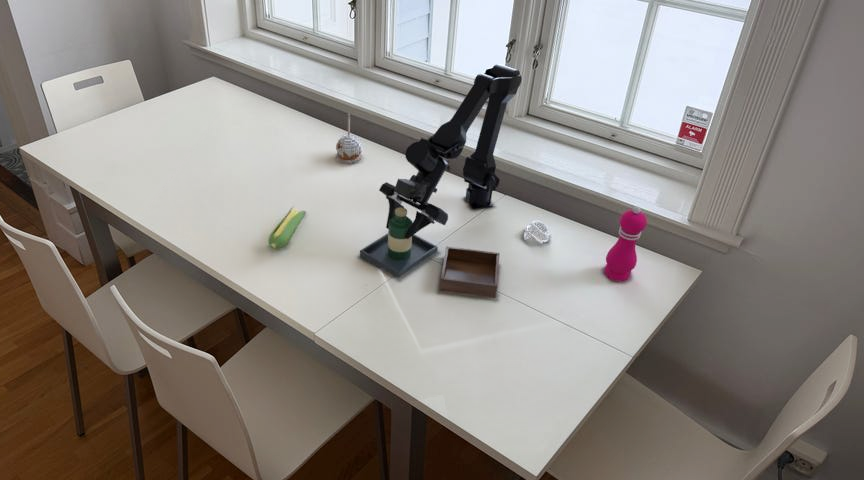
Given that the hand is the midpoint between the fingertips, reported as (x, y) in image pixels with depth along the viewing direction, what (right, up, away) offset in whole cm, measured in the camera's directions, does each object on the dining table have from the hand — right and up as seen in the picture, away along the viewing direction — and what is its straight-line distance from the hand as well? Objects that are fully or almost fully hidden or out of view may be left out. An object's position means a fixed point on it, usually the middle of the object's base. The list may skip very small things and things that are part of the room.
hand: (396, 233), depth 165 cm
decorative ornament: (-14, +26, +45) cm, 54 cm away
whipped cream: (+38, 0, +14) cm, 40 cm away
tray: (+1, -5, +5) cm, 8 cm away
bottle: (+1, -5, +5) cm, 7 cm away
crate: (+18, -11, -1) cm, 21 cm away
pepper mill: (+55, -10, +2) cm, 56 cm away
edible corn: (-29, +1, +12) cm, 31 cm away
